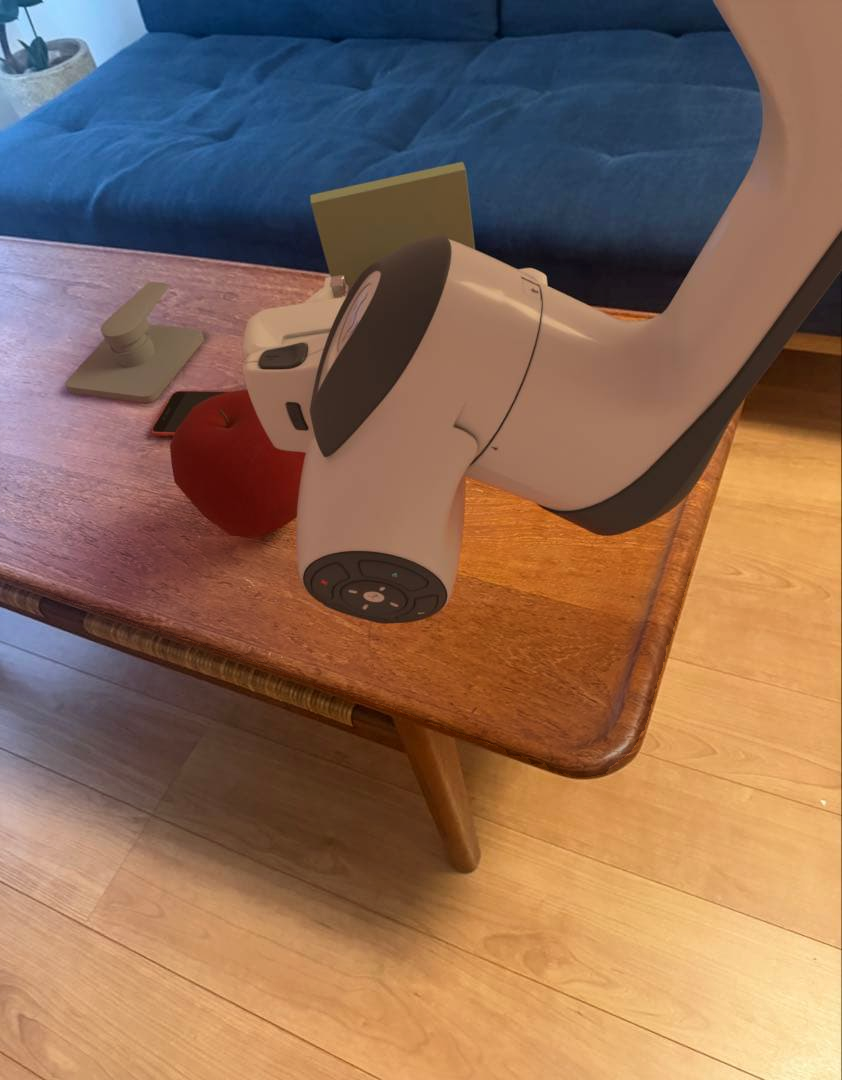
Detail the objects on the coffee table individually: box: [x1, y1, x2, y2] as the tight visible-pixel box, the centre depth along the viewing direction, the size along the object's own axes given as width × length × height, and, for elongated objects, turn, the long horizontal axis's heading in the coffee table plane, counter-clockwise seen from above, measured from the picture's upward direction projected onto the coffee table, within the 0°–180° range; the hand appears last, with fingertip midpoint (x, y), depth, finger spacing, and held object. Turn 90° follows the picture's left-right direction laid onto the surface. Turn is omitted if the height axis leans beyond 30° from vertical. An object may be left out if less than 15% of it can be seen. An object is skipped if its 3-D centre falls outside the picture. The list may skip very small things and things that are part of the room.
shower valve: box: [64, 281, 205, 404], centre depth 95 cm, size 12×6×15 cm
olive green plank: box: [309, 161, 476, 290], centre depth 80 cm, size 14×2×20 cm, turn 98°
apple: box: [169, 389, 306, 538], centre depth 71 cm, size 12×12×13 cm
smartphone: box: [150, 390, 233, 437], centre depth 87 cm, size 7×1×14 cm
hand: (401, 274), depth 59 cm, fingers open, 8 cm apart
